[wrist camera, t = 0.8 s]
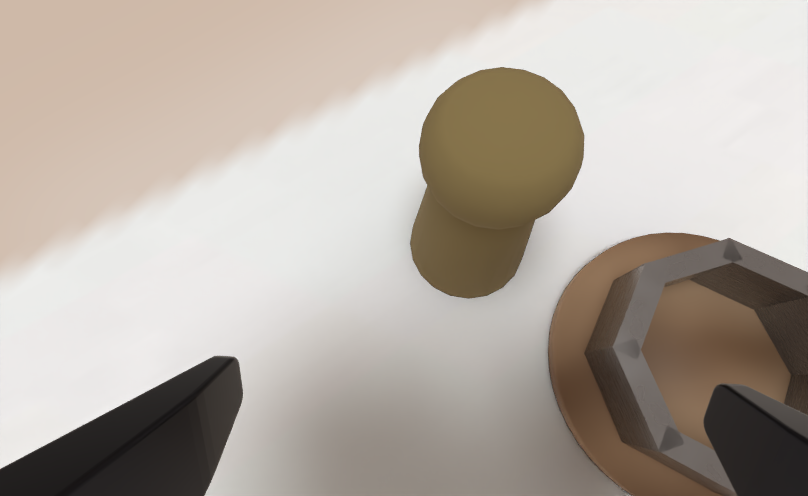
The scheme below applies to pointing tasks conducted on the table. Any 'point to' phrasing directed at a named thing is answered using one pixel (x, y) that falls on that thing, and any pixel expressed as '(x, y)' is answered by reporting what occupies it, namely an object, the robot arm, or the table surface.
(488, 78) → the cork
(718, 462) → the coupling socket
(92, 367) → the table surface
